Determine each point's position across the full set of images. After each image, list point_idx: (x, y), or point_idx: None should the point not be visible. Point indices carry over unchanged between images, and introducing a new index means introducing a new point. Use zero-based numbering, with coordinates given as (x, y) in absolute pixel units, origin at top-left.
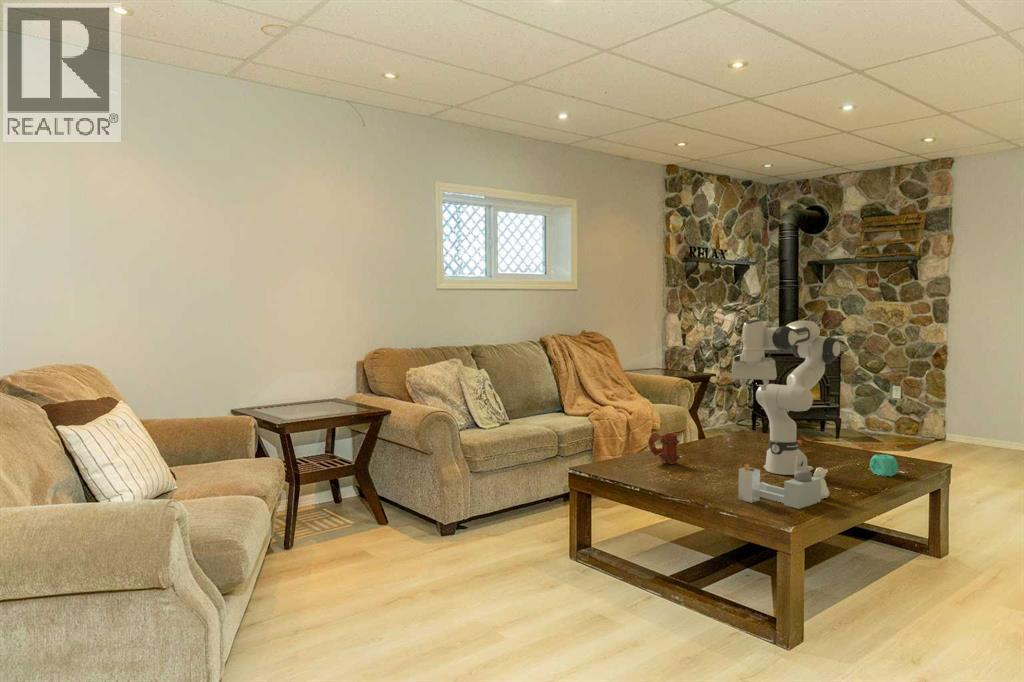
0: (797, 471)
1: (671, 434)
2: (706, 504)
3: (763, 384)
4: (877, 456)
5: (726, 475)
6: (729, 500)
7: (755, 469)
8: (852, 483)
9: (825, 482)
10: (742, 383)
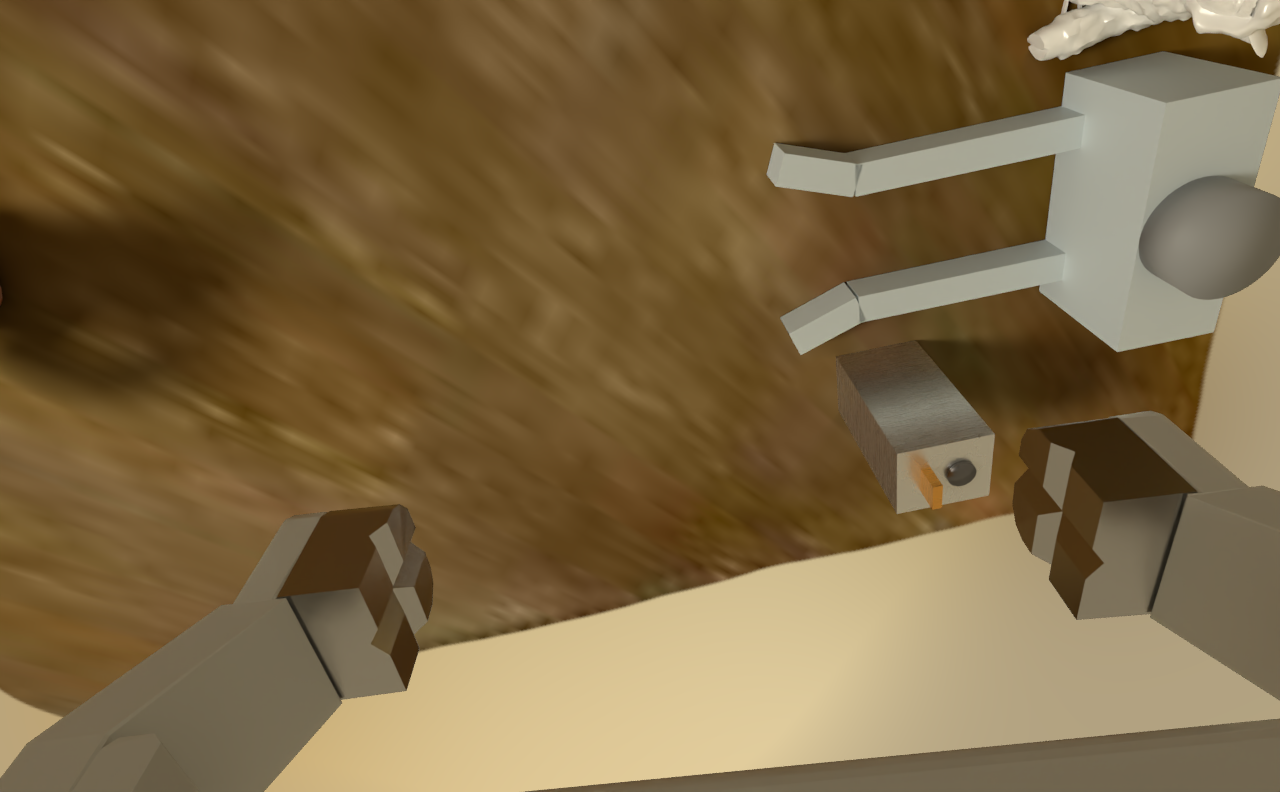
0: (1195, 267)
1: None
2: (807, 553)
3: (1251, 672)
4: None
5: (401, 130)
6: (824, 451)
7: (969, 448)
8: None
9: None
10: (266, 766)
